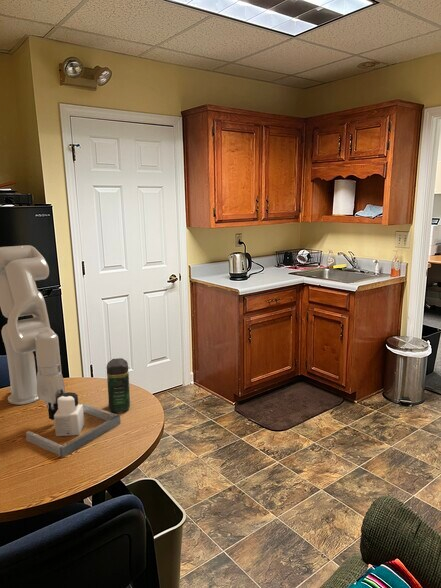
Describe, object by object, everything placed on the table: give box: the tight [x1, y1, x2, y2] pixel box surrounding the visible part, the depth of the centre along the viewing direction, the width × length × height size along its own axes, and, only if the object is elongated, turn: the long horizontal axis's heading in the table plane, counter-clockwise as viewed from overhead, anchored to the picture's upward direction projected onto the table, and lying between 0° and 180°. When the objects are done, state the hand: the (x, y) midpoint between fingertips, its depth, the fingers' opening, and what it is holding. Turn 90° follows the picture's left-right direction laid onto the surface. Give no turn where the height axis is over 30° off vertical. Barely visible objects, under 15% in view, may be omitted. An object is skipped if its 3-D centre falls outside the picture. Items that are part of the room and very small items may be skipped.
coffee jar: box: [106, 357, 131, 413], centre depth 167 cm, size 10×8×19 cm
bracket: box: [25, 403, 122, 458], centre depth 151 cm, size 18×24×3 cm
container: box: [53, 392, 85, 437], centre depth 151 cm, size 8×8×13 cm
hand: (54, 417), depth 156 cm, fingers closed
